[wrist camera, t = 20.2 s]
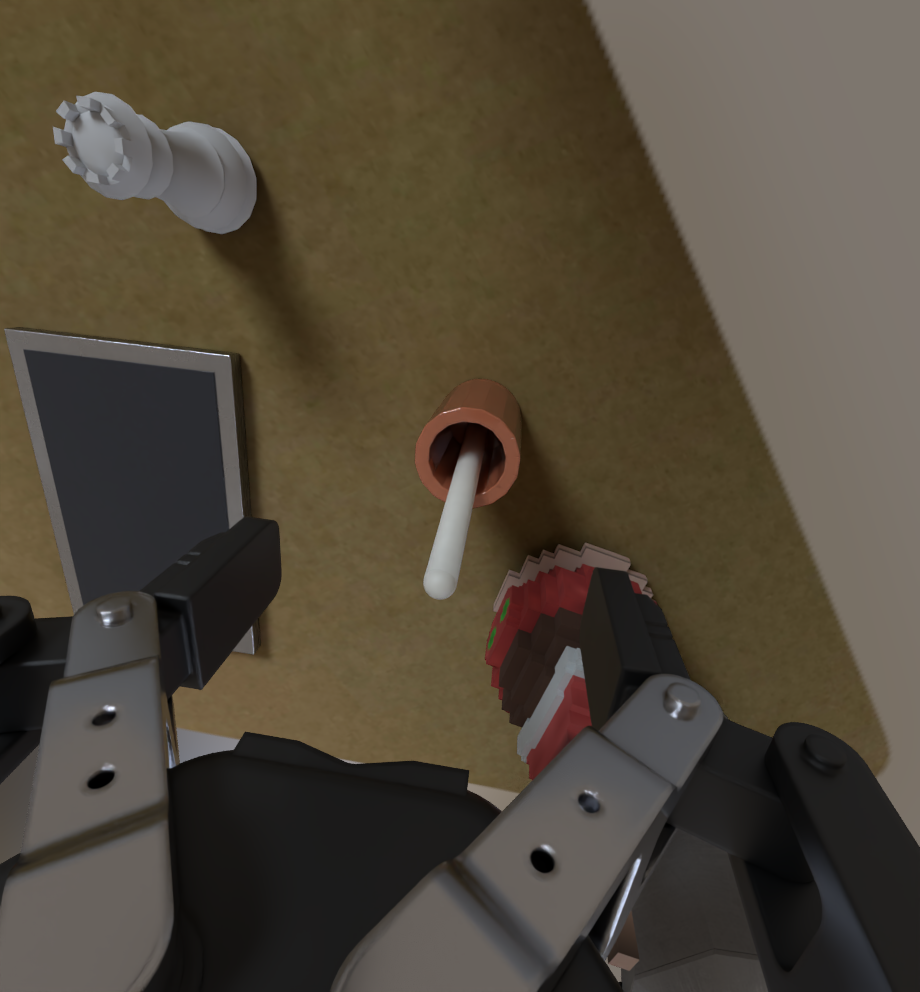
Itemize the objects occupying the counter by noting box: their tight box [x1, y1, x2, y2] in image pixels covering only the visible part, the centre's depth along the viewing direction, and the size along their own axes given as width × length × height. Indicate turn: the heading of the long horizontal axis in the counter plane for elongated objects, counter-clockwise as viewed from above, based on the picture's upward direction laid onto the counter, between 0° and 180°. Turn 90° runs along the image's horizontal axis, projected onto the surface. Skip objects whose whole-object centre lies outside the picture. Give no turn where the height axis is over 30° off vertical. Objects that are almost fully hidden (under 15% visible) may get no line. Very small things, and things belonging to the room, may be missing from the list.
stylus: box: [423, 422, 489, 599], centre depth 22 cm, size 1×1×13 cm
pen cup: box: [415, 379, 522, 508], centre depth 24 cm, size 4×4×7 cm
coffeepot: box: [618, 713, 768, 992], centre depth 26 cm, size 15×9×18 cm, turn 111°
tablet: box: [4, 327, 261, 654], centre depth 32 cm, size 20×13×1 cm, turn 174°
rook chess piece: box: [53, 92, 256, 234], centre depth 21 cm, size 4×4×8 cm
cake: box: [485, 542, 657, 971], centre depth 23 cm, size 11×9×18 cm
